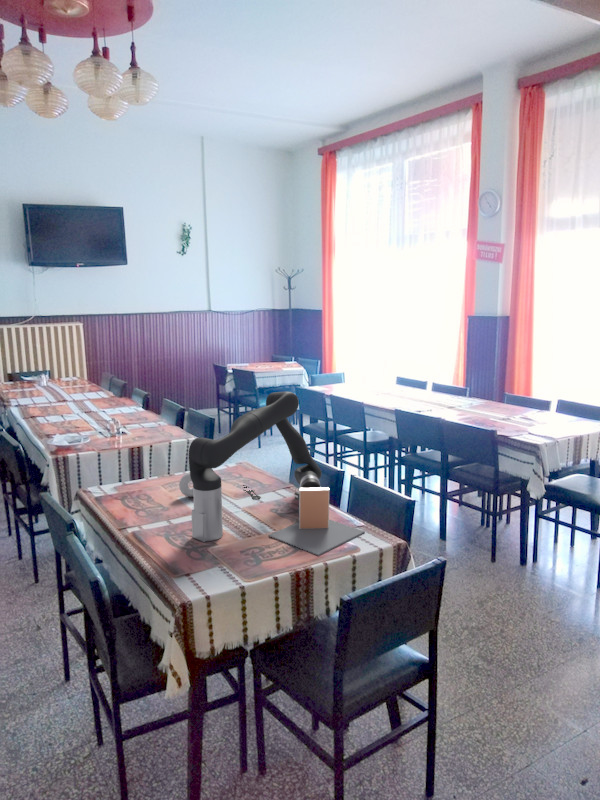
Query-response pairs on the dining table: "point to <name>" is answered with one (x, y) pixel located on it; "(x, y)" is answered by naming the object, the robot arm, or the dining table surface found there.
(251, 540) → the dining table surface
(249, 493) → the throwing knife
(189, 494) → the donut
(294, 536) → the mat
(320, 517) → the tile
